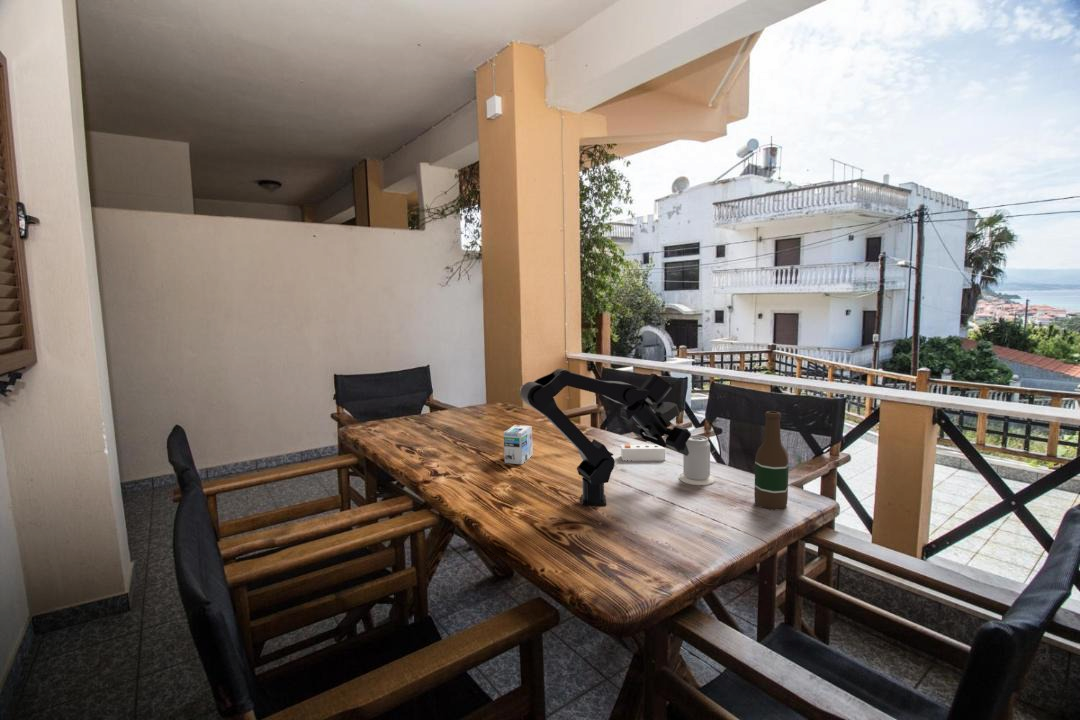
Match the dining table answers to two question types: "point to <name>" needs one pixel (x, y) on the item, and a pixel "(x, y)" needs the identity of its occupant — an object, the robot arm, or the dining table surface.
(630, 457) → the power strip
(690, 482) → the coaster
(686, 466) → the can
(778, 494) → the beer bottle
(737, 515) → the dining table surface
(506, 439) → the light bulb box
